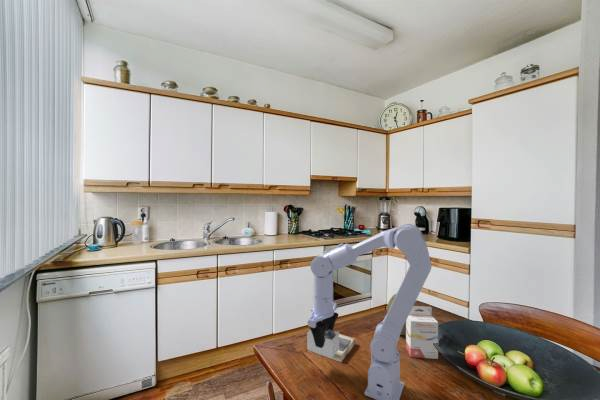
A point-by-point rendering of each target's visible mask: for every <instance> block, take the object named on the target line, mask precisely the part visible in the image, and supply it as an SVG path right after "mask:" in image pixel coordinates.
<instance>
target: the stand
mask: <svg viewBox="0 0 600 400" xmlns="http://www.w3.org/2000/svg"><path fill="white" fill-rule="evenodd" d="M355 345H356V339H355V337H351V336H348V335H344V334H341V333H339V350H338V351H337V353H336V354H335V355H334V356H333V357H332V358H330V357H328V356H325V355H322V354H319V353H316V352H313V351H310V352H311V353H313V354H317V355H320V356H322V357H325V358H328V359H330V360H334V361H336V362H339V363H342V362H343V360H344V359H345V358H346V356H347V355H348V354H349V353H350V352H351V350H352V349H353V348H354V346H355Z"/></svg>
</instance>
